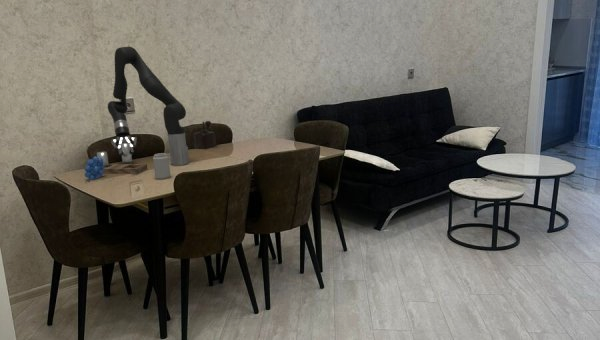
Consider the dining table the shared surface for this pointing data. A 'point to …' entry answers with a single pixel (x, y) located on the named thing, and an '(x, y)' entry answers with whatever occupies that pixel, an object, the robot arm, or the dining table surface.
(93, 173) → the grapes
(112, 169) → the brown wooden tray
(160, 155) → the can
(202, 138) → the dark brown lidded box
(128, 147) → the billet
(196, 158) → the dining table surface
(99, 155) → the billet
